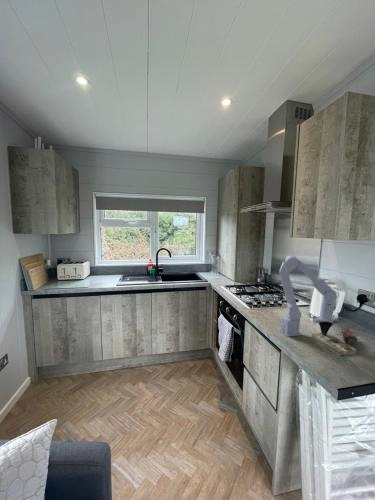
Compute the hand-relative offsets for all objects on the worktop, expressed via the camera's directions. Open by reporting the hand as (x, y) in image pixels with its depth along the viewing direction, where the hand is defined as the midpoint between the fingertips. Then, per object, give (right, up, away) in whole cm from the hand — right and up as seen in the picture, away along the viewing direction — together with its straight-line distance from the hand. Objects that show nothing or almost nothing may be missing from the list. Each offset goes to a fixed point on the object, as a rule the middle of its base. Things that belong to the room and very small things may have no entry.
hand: (323, 334), depth 120 cm
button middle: (+2, -1, -6) cm, 7 cm away
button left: (0, -2, 0) cm, 1 cm away
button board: (0, -3, -6) cm, 7 cm away
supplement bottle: (+14, 0, +1) cm, 14 cm away
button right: (+3, -3, -12) cm, 13 cm away
